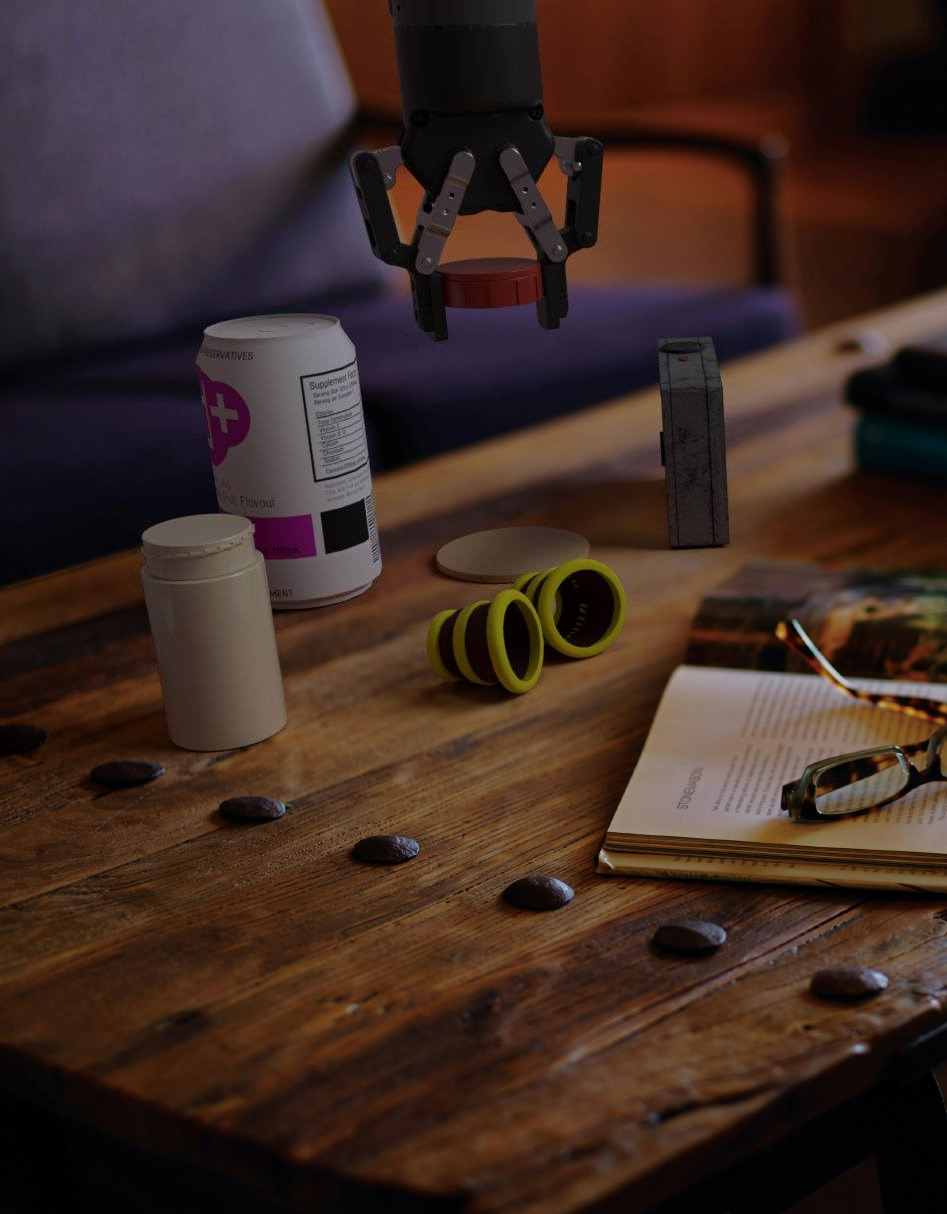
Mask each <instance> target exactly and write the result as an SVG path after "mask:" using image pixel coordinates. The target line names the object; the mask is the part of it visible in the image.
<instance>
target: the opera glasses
mask: <svg viewBox="0 0 947 1214" xmlns="http://www.w3.org/2000/svg"><path fill="white" fill-rule="evenodd" d="M554 600H555V610H554V614H553V603H554ZM626 613H627V597H626V593H625V588H624V587H623V585H622V582H621V580H620V579H619V577H618V576H617V575H616V573H615V572H614V571H613V570H612V569H610V568H609V567H608V566H607V565H606V564H604V563H602V562H600V561H597V560H595V559H591V558H587V559H574V560H571V561H568V562H565V563H563V564H562V565H560V566H559V567H557V568H552V569H549V570H547V571H544V572H542V573H539V572H533V573H528V574H525V575H523V576H521V577H520V578H519V579H517V580H516V581H515V582H513V584H512V585H511V587H510V589H502V590H501V591H500V592H498V593H497V594H495V596H494V598H493V599H492V600H491V601H490V600H480V601H477V602H474V603H471V604H468V605H467V606H465V607H462V608H459V609H444V610H443V611H440V612H438V613H437V614H436V615H435V616H434V617H433V618H432V620H431V622H430V624H429V626H428V630H427V634H426V653H427V658H428V661H429V664H430V666H431V668H432V670H433V671H434V673H435V674H436V675H437V676H438V677H439V678H441V679H442V680H444V681H446V682H459V681H462V680H463V681H467V682H471V683H475V684H477V685H484V686H494V685H496V684H501V685H502V686H503V688H505V689H506V690H508V691H509V692H511V693H514V694H524V693H527V692H528V691H531V689H532V688H533V687H535V685H536V684H537V682H538V680H539V677H540V675H541V672H542V667H543V661H544V651H545V650H544V647H545V645H548V646H550V647H553V649H555V650H556V651H557V652H559V653H561V654H563V655H564V656H567V657H571V658H577V659H580V658H581V659H582V658H589V657H593V656H596V655H598V654H600V653H603V651H605V650H607V648H609V646H611V644H612V643H614V641H615V640H616V639H617V637H618V636H619V634H620V633H621V631H622V628H623V625H624V623H625V619H626ZM544 644H545V645H544Z"/></svg>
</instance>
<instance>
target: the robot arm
mask: <svg viewBox="0 0 947 1214" xmlns="http://www.w3.org/2000/svg"><path fill="white" fill-rule="evenodd" d="M387 3H388V4H387V6H388V12H389V15H390V18H391V20H392V21H391V22H392V29H393V31H392V32H393V38H394V48H395V56H396V57H395V59H396V66H397V75H398V83H399V84H398V85H399V93H400V103H401V111H402V127H401V132H400V135H399V137H398V139H397V142H396V145H391V146H386V147H382V148H378V149H374V150H370V151H365V150H362V149H354V150H352V151H351V152H349V153H348V156H347V157H346V162H347V166H348V170H349V174H350V177H351V181H352V185H353V188H354V191H355V195H356V199H357V202H358V206H359V209H360V213H361V216H362V221H363V223H364V224H363V225H364V227H365V231H366V235H367V238H368V241H369V245H370V250H371V252H372V255H373V256H374V257H375V258H376V259H378V260H380V261H381V262H382V263H384V264H385V265H388V266H393V267H397V268H401V269H404V270H406V271H407V273H408V275H409V283H410V284H409V285H410V292H411V300H412V309H413V318H414V321H415V324H416V325H417V327H418V329H420V330H421V331H422V332H424V333H427V336H428V339H430V340H431V341H433V342H434V343H439V342H447V341H448V340H449V330H448V321H447V320H448V319H447V311H446V306H445V300H444V291H443V281H442V275H441V274H440V273H437V271H436V269H437V266H439V263H440V259H441V257H442V254H443V251H444V248H445V245H446V242H447V240H448V237H450V236H451V234H452V231H453V229H454V226H455V223H456V220H457V217H458V216H459V217H465V216H467V217H468V216H475V215H478V214H480V213H483V212H486V211H491V212H496V213H501V214H503V213H512V214H513V216H514V217H515V219H516V221H517V222H518V223H519V224H520V226H521V227H522V229H523V231H524V233H525V234H526V236H527V238H528V240H529V241H530V243H531V246H532V247H533V249H534V250H535V252H536V260H537V261H539V262H540V263H541V271H542V276H543V288H544V294H543V298H542V299H540V300H538V301H536V302H535V309H536V318H537V324H538V325H539V327H540V328H542V329H544V330H546V331H550V330H559V329H560V328H561V319H566V318H567V316H568V312H569V309H570V307H569V294H568V293H569V292H568V285H567V284H568V283H567V281H568V280H567V269H566V268H567V267H566V264H567V261H568V259H569V257H570V256H571V255H573V254H575V253H576V252H578V251H580V250H583V249H590V248H593V247H594V246H595V245H596V243H597V241H598V235H599V234H598V232H599V219H600V209H601V208H600V206H601V204H600V203H601V195H602V194H601V193H602V180H603V169H604V156H605V155H604V154H605V148H604V145H603V143H602V142H601V141H600V140H598V139H596V138H593V137H589V136H582V135H580V136H579V135H577V136H575V137H569V136H557V135H554V133H553V131H552V129H550V126H549V124H548V123H547V120H546V117H545V109H544V107H545V106H544V105H545V104H544V93H543V81H542V80H543V79H542V69H541V67H542V66H541V55H540V44H539V43H540V41H539V30H538V29H539V28H538V19H537V18H538V17H537V6H536V3H537V2H536V0H387ZM553 156H555V157H556V158H557V161H558V168H559V170H560V172H561V173H562V174H563V175H565V176H567V181H566V182H567V183H566V184H567V185H566V197H565V209H564V210H565V211H564V222H563V223H564V224H563V225H564V226H563V227H561V228H559V229H558V227H557V226H556V224H555V222H554V220H553V215H552V213H551V210H550V208H549V206H548V205H547V203H546V202H545V199H544V198H543V196H542V193H541V192H540V191H539V188H538V187H537V184H538V182H539V180H540V178H541V177H542V175H543V173H544V172H545V170H546V168H547V166H548V164H549V163H550V161H551V159H552V157H553ZM402 165H403V167H405V169H406V170H407V171H408V172H409V173H410V174H411V175H412V177H413V178H414V179H415V181H416V182H417V183H418V184H419V186H421V187H422V188H423V189H424V192H423V195H422V198H421V202H420V205H419V208H418V210H417V214H416V216H415V217H416V218H415V226H414V229H413V233H412V235H411V238H410V241H409V244H408V243H404V242H401V239H400V235H399V232H398V228H397V224H396V221H395V217H394V213H393V209H392V206H391V202H390V199H389V195H388V191H390V190H392V189H393V188H394V187H395V186H396V183H397V176H396V175H397V170H398V168H399V167H400V166H402Z"/></svg>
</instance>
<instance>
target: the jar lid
mask: <svg viewBox="0 0 947 1214" xmlns="http://www.w3.org/2000/svg"><path fill="white" fill-rule="evenodd" d="M436 271H437V273H440V274H441V275H442V281H443V291H444V300H445V308H451V309H452V308H453V309H461V310H462V309H463V310H487V309H502V308H510V307H518V306H523V305H528V304H531V303H536V301H538V300H540V299H542V298H543V294H544V288H543V276H542V271H541V263H540V262H539V261H537V259H535V258H534V259H533V258H527V257H512V256H510V257H509V256H508V257H507V256H501V257H500V256H497V257H495V256H494V257H480V258H470V259H469V258H467V259H461V260H454V261H449V262H445V263H441V264H438V266H437V269H436Z"/></svg>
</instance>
